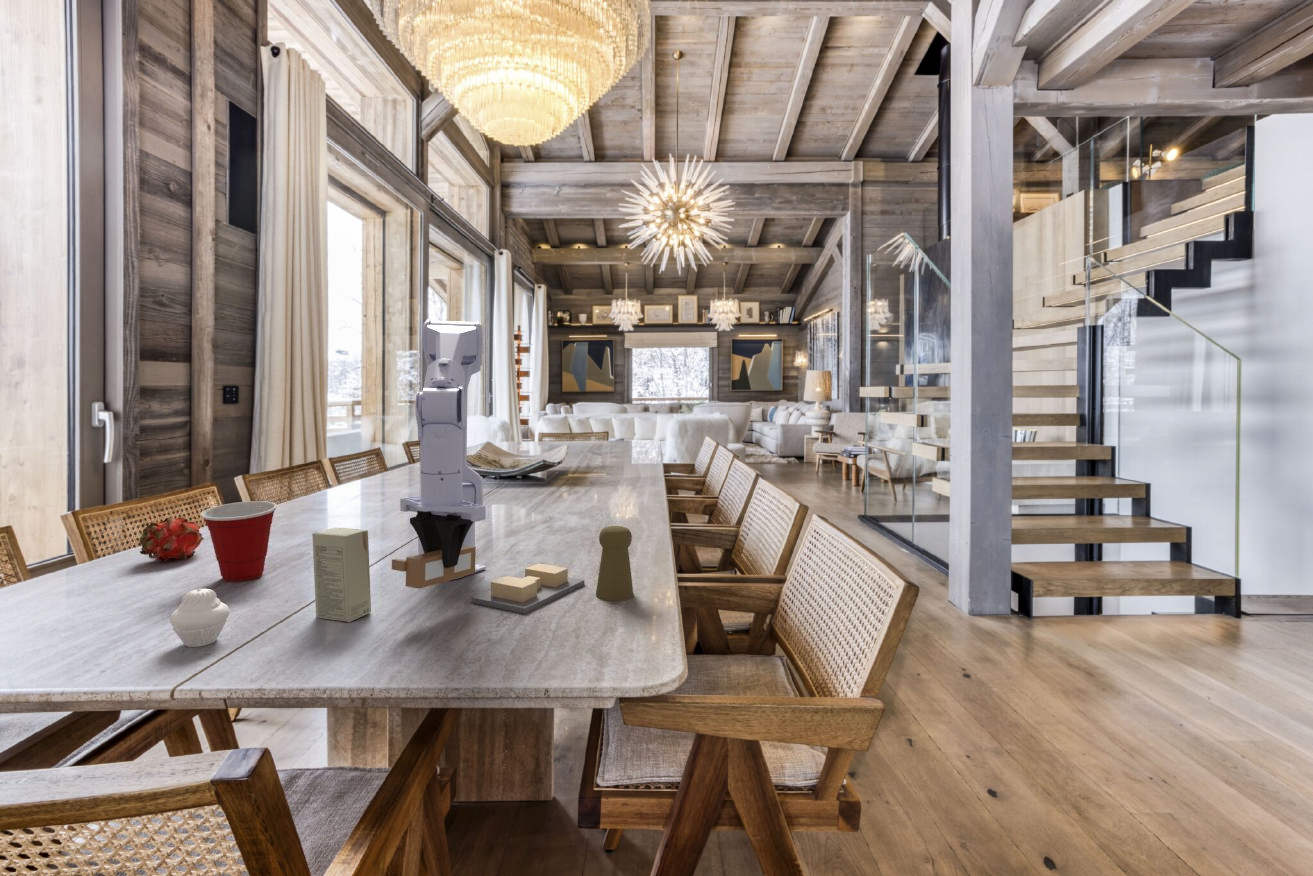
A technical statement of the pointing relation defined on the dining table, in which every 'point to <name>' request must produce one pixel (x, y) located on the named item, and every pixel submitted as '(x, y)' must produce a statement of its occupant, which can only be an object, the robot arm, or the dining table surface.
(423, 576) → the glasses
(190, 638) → the muffin
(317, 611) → the skincare box
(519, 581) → the gray tray with blocks
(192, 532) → the dragon fruit
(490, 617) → the dining table surface
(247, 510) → the plastic cup
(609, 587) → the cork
